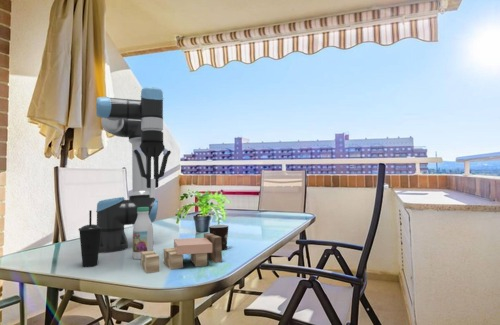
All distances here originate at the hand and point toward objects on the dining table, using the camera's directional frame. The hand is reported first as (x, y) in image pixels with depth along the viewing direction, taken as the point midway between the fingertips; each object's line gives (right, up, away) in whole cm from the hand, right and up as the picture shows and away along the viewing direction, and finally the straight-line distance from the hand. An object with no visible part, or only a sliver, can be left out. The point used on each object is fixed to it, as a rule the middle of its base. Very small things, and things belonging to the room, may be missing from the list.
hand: (152, 197), depth 109 cm
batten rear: (0, -24, -2) cm, 24 cm away
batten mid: (+7, -24, +2) cm, 25 cm away
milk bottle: (-8, -26, +15) cm, 31 cm away
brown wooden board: (+20, -25, +9) cm, 33 cm away
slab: (+13, -20, +4) cm, 24 cm away
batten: (+15, -24, +5) cm, 29 cm away
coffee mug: (+20, -26, +26) cm, 42 cm away
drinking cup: (-24, -26, +4) cm, 35 cm away
